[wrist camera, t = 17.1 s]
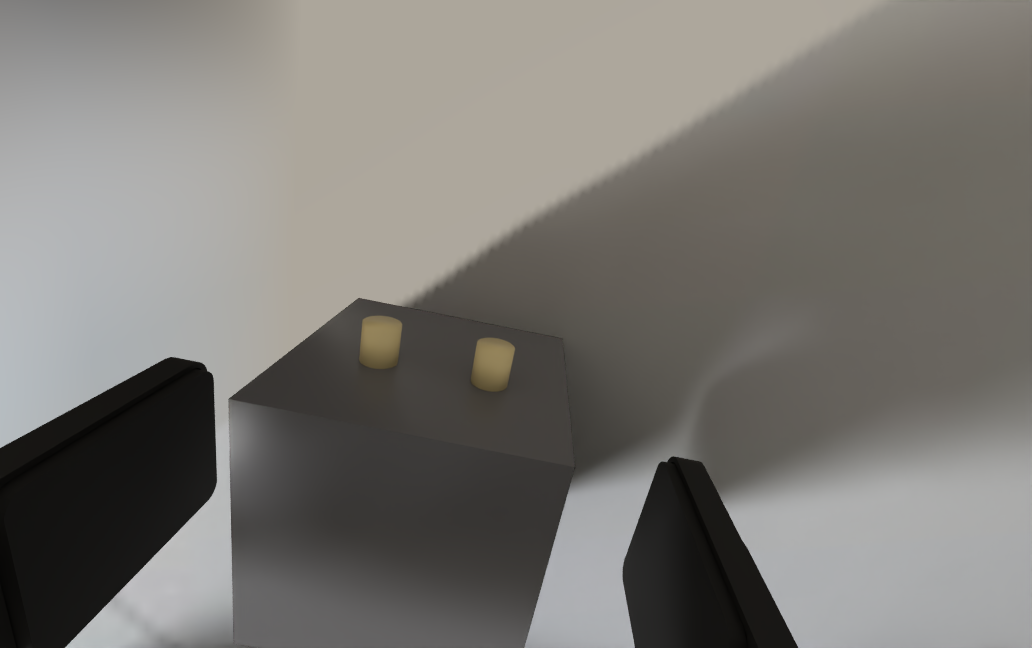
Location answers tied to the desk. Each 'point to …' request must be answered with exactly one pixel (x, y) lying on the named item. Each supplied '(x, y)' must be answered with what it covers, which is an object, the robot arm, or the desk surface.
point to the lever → (398, 484)
